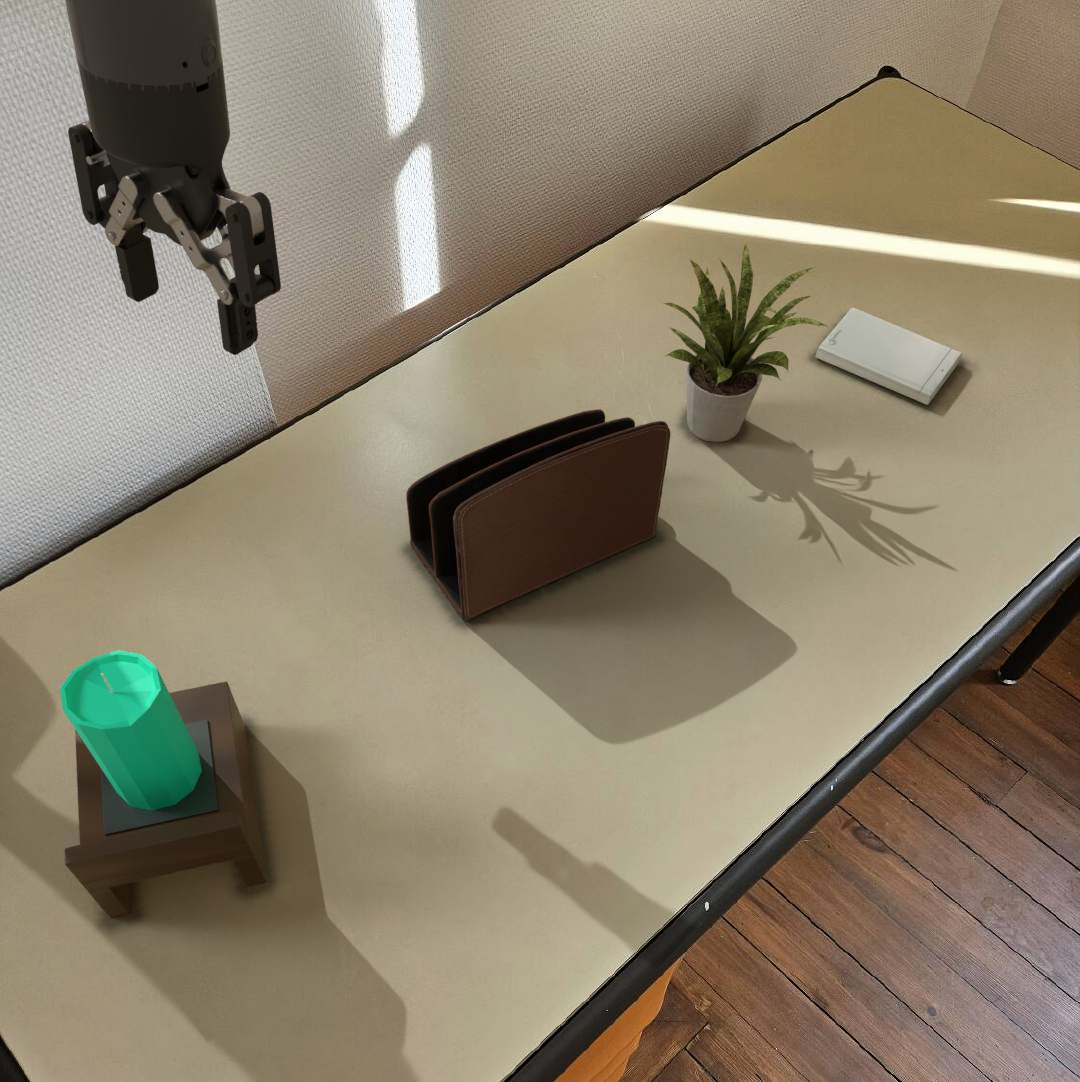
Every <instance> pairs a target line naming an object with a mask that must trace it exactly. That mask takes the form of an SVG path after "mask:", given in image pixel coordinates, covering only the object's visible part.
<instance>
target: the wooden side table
mask: <svg viewBox="0 0 1080 1082" xmlns="http://www.w3.org/2000/svg"><path fill="white" fill-rule="evenodd" d="M169 694H170V696H171V698H172V700H173V702H174V704H175V706H176V708H177V710H178V712H179V714H180V716H181V718H182V720H183V722H184V724H185V726H186V728H187V730H188V733H189V735H190V737H191V739H192V741H193V743H194V745H195V747H196V749H197V751H198V753H199V759H200V764H201V770H202V771H201V774H200V776H199V778H198V780H197V783H196V785H195V787H194V790H193V791H191V792H190V793H189V794H188V795H186V796H185V797H184V798H183V799H181V800H180V801H179V802H178V803H177V804H175V805H171V806H168V807H164V808H160V809H156V810H153V811H152V810H147V809H142V808H137V807H132V806H130V805H129V804H128V803H127V802H126V801H125V800H124V799H123V798H122V797H121V796H120V795H119V794H118V793H117V792H116V790H115V789H114V787H113V786H112V784H111V783H110V781H109V780H108V778H107V777H106V775H105V774H104V772H103V771H102V769H101V767H100V766H99V764H98V763H97V761H96V760H95V758H94V757H93V755H92V754H91V752H90V751H89V749H88V748H87V746H86V745H85V743H84V742H83V740H82V738H81V737H80V735H79V734H78V732H77V731H76V729H75V728H74V737H75V760H76V761H75V762H76V787H77V788H76V791H77V813H78V814H77V815H78V839H79V840H78V841H79V844H77V845H73V846H69V847H64V850H63V851H64V865H65V867H66V868H67V869H68V870H69V871H70V873H71V874H72V875H73V876H74V877H75V878H76V879H77V881H78V882H79V883H80V884H81V886H82V887H83V888H84V889H85V891H87V893H89V895H90V896H91V897H92V898H93V900H94V901H95V902H96V903H97V904H98V906H99V907H100V908H101V909H102V910H103V912H104V913H105V914H106V915H107V917H109V919H113V918H118V917H122V916H127V915H131V904H130V887H129V884H131V883H135V882H139V881H144V880H149V879H153V878H157V877H162V876H165V875H171V874H175V873H180V872H184V871H188V870H189V871H190V870H194V869H198V868H201V867H206V866H209V865H215V864H219V863H225V862H228V861H232V860H233V862H234V864H235V866H236V867H237V869H238V871H239V874H240V875H241V877H242V880H243V881H244V883H245V885H246V886H247V887H253V886H256V885H260V884H265V883H267V875H266V869H265V859H264V854H263V853H264V852H263V846H262V839H261V833H260V825H259V819H258V811H257V804H256V797H255V790H254V783H253V776H252V769H251V760H250V755H249V748H248V740H247V731H246V726H245V722H244V720H243V717H242V715H241V713H240V710H239V707H238V705H237V702H236V700H235V697H234V695H233V693H232V689H231V687H230V685H229V681H228V680H227V681H222V682H216V683H212V684H208V685H207V684H206V685H201V686H197V687H192V688H186V689H182V690H177V691H171V692H169Z"/></svg>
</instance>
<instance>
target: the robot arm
mask: <svg viewBox="0 0 1080 1082" xmlns="http://www.w3.org/2000/svg"><path fill="white" fill-rule="evenodd" d="M64 1H65V8H66V13H67V18H68V22H69V28H70V32H71V38H72V42H73V46H74V52H75V58H76V62H77V67H78V71H79V72H78V73H79V77H80V81H81V86H82V91H83V92H82V93H83V95H84V100H85V106H86V111H87V115H88V120H86V121H84V122H83V121H82V122H80V123H78V124H76V125H73V126H70V127H69V128H68V130H67V133H68V138H69V139H68V140H69V144H70V145H69V146H70V151H71V155H72V162H73V166H74V171H75V177H76V182H77V189H78V194H79V199H80V203H81V204H80V205H81V210H82V214H83V216H84V219H85V220H86V221H87V222H88V223H89V224H90V225H92V226H96V225H98V224H99V225H100V226H101V227H102V228H103V229H104V234H105V236H106V238H107V240H108V241H109V243H110V244H111V245H113V246H114V249H115V254H116V259H117V263H118V268H119V274H120V279H121V281H122V283H123V286H124V290H125V294H126V296H127V298H129V299H130V300H133V301H135V302H136V303H140V302H142V301H144V300H146V299H148V298H150V297H152V296H154V295H155V294H157V293H158V291H159V290H160V289H159V288H160V283H159V278H158V273H157V266H156V261H155V255H154V249H153V245H152V238H151V237H149V236H147V235H145V233H147V232H148V230H150V231H152V232H154V233H157V234H163V235H165V236H166V237H168V238H169V239H170V240H171V241H172V242H173V243H175V244H177V245H179V246H181V247H182V249H183V250H184V252H185V254H186V255H187V257H188V259H189V260H190V262H191V264H192V266H193V267H194V268H195V269H196V270H198V271H203V272H204V274H205V275H206V277H207V279H208V280H209V283H210V284H211V285H212V287H213V290H214V291H215V293H216V294H217V296H218V299H216V303H217V304H216V305H217V311H218V313H217V314H218V319H219V328H220V334H221V343H222V349H223V350H224V351H226V352H228V353H229V354H231V355H233V356H237V355H239V354H241V353H242V352H244V351H245V350H247V349H248V348H251V347H252V346H253V345H254V343H255V342H257V341H258V337H259V328H258V322H257V310H256V309H257V308H256V305H257V304H258V303H260V302H261V301H263V300H265V299H267V298H269V297H270V296H272V295H276V294H277V293H278V292H280V291H281V289H282V284H281V283H282V282H281V275H280V268H279V267H280V266H279V259H278V252H277V244H276V243H277V242H276V235H275V227H274V219H273V213H272V205H271V201H270V199H269V197H268V196H267V195H266V194H265V193H264V192H262V191H257V192H255V193H253V194H251V195H248V196H247V195H244V194H242V193H240V192H237V191H236V190H235V191H234V190H232V189H231V186H230V183H229V181H228V179H227V177H226V174H225V171H224V168H223V167H224V166H223V159H224V155H225V152H226V150H227V146H228V145H229V141H230V138H231V127H230V118H229V108H228V100H227V91H226V90H227V89H226V79H225V72H224V71H225V70H224V62H223V54H222V53H223V52H222V44H221V43H222V42H221V34H220V25H219V15H218V8H217V7H218V6H217V1H216V0H64ZM101 186H104V187H103V188H104V192H105V195H104V196H103V197H100V196H99V189H100V187H101ZM216 229H217V230H218V232H219V234H220V237H221V243H220V244H218V245H216V246H214V247H212V248H209V247H207V246H205V245H204V244H203V242H202V241H204V240H206V239H207V238H209V237H211V236H212V235H213V234H214V233H215V231H216ZM222 259H226V260H227V261H228V263H229V264H230V266H231V268H232V271H233V272H234V277H232V278H229V276H228V274H227V272H226V271H225V269H224V267H223V266H222V263H221V261H222ZM257 266H258V270H259V274H258V273H256V272H255V271H256V268H257Z"/></svg>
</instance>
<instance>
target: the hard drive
mask: <svg viewBox="0 0 1080 1082" xmlns="http://www.w3.org/2000/svg"><path fill="white" fill-rule="evenodd" d="M815 353H816V354H815V357H814V358H816V359H819V360H821V361H823V362H825V363H827V364H830V365H833V366H835V367H837V368H839V369H841V370H844V371H846V372H848V373H851V374H853V375H855V376H858V377H860V378H863V379H865V380H868V381H870V382H872V383H874V384H877V385H879V386H882V387H884V388H887V389H888V390H891V391H894V392H896V393H898V394H901V395H902V396H904V397H908V398H909V399H912V400H914V401H916V402H919V403H921V404H924V405H926V406H928V405H929V404H930V403H931V401H932V400H933V399H934V397H936V395H937V393H938V392H939V391H940V390H941V388H942V386H943V385H944V384H945V382H946V381H947V380H948V378H949V377H950V375H951V374H952V373H953V371H955V369H956V368H957V366H958V364H959V363H960V361H961V359H962V356H963V352H961V351H959V350H956V349H954V348H951V347H949V346H948V345H944V344H942V343H939V342H938V341H935V340H933V339H930V338H928V337H925V336H923V335H921V334H918V333H916V332H913V331H911V330H909V329H906V328H904V327H901V326H899V325H897V324H895V323H892V322H889V321H886V320H884V319H882V318H880V317H877V316H875V315H874V314H870V313H869V312H866V311H863V310H861V309H858V308H855V307H851V308H850V309H849V310H848V311H847V313H846V314H845V315H844V316H843V317H842V319H840V321H838V323H837V325H836V326H835V327H834V328H833V329H832V330H831V332H829V334H828V335H827V336H826V337H825V339H824V340H823V341H822V342H821V344H820V345H819V346H818V348H817V351H816V352H815Z"/></svg>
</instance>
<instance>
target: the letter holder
mask: <svg viewBox="0 0 1080 1082" xmlns="http://www.w3.org/2000/svg"><path fill="white" fill-rule="evenodd" d="M670 441H671V429H670V427H669V424H668V423H667V422H665V421H664V420H656V421H651V422H648V423H645V424H640V425H637V426H636V422H635V420H634V419H633V418H632V417H629V416H627V417H621V418H616V419H612V420H608V421H606V414H605V411H603V410H602V409H596V408H595V409H590V410H585V411H584V410H583V411H580V412H577V413H573V414H570V415H567V416H564V417H560V418H558V419H555V420H552V421H549V422H546V423H542V424H540V425H537V426H533V427H532V428H528V429H526V430H523V431H520V432H518V433H516V434H514V435H511V436H508V437H506V438H502V439H500V440H498V441H496V442H495V441H494V442H493V443H490V444H488V445H485V446H483V447H481V448H478V449H476V450H473V451H472V452H470V453H467V454H465V455H462V456H460V457H459V458H457V459H454V460H452V461H449V462H447V463H445V464H444V465H442V466H440V467H438V468H436V469H435V470H433V471H430V472H429V473H427V474H425V475H424V476H422V477H420V478H419V479H418V480H416V481H414V482H412V484H410V486H409V487H408V489H407V490H406V494H405V496H406V497H405V498H406V507H407V515H408V527H409V536H410V537H409V538H410V540H409V542H410V543H409V545H410V547H411V549H412V550H413V551H414V553H415V554H416V556H417V557H418V559H419V560H420V561H421V563H422V564H423V565H424V567H425V568H426V570H427V571H428V572H429V574H430V576H431V577H432V579H433V580H434V581H435V583H436V585H438V587H439V588H440V590H441V591H442V593H443V594H444V595H445V597H446V598H447V600H448V601H449V603H450V604H451V606H452V607H453V608H454V610H455V611H456V613H457V614H458V616H459V617H460V618H461V619H462V620H463V621H465V622H468V621H470V620H472V619H474V618H476V617H477V616H480V615H482V614H484V613H486V612H489V611H490V610H493V609H495V608H497V607H499V606H501V605H503V604H506V603H508V602H510V601H513V600H515V599H517V598H519V597H521V596H524V595H526V594H529V593H531V592H534V591H536V590H537V589H539V588H540V589H541V588H542V587H544V586H546V585H549V584H551V583H553V582H556V581H558V580H560V579H562V578H565V577H567V576H569V575H571V574H574V573H576V572H578V571H580V570H583V569H585V568H588V567H589V566H592V565H594V564H596V563H599V562H600V561H603V560H604V559H605V560H606V559H607V558H609V557H611V556H614V555H616V554H618V553H621V552H623V551H625V550H627V549H630V548H632V547H634V546H636V545H638V544H641V543H643V542H645V541H648V540H650V539H653V538H655V537H656V535H657V528H658V521H659V520H658V519H659V514H660V508H661V501H662V495H663V488H664V487H663V486H664V481H665V475H666V469H667V464H668V463H667V462H668V455H669V450H670Z"/></svg>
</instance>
